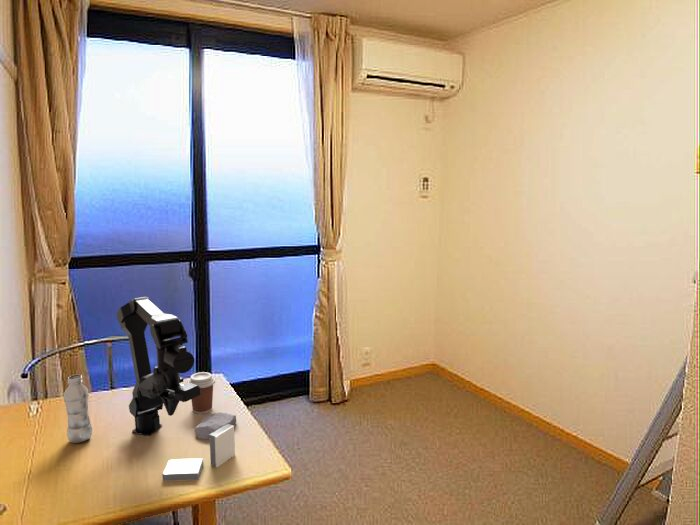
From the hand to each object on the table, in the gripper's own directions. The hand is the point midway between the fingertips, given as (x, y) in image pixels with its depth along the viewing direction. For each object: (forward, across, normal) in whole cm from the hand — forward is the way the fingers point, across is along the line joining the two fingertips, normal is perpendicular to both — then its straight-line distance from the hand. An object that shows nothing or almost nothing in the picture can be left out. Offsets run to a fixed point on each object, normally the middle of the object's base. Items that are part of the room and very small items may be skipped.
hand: (171, 415), depth 141 cm
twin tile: (+12, +10, -5) cm, 16 cm away
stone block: (+12, 0, +16) cm, 21 cm away
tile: (+12, +14, +5) cm, 19 cm away
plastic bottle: (+12, -30, -9) cm, 33 cm away
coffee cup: (+12, -14, +24) cm, 30 cm away
